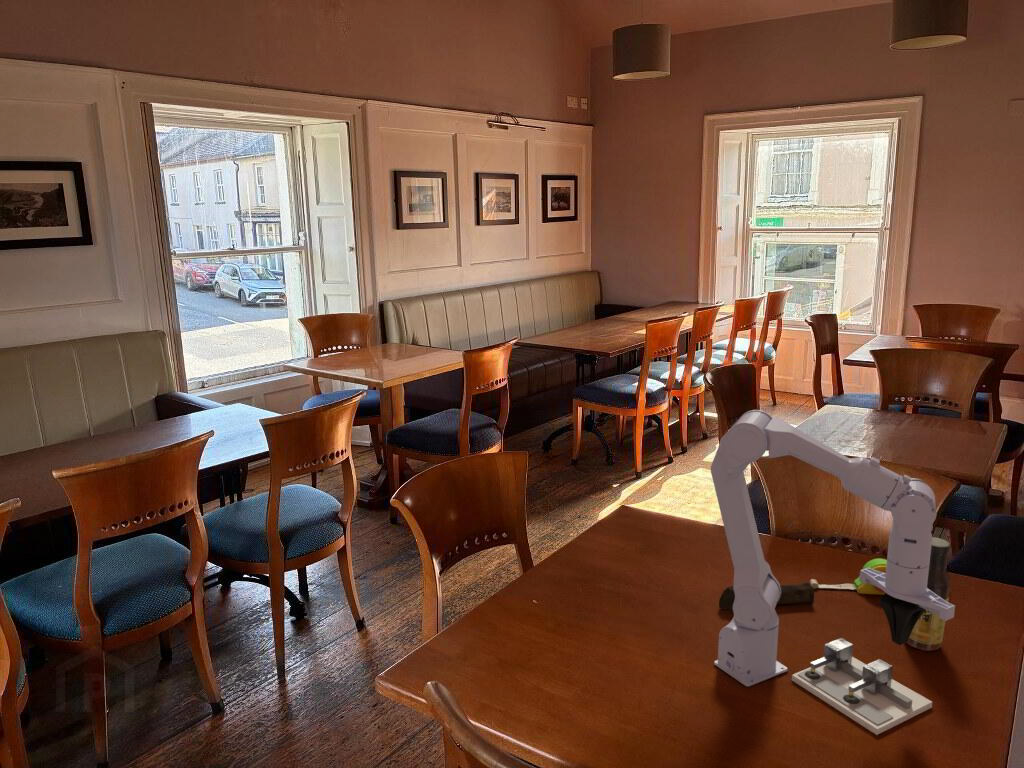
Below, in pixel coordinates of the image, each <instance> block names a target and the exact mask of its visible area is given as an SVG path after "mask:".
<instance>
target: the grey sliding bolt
mask: <svg viewBox="0 0 1024 768" xmlns="http://www.w3.org/2000/svg"><path fill="white" fill-rule="evenodd" d="M892 679H893V665H891V664H890V663H888V662H886V661H885V660H882V659H880V658H878V659H876V660H874V661H872V662H869V663H867V664H866V665H864V666H863V672H862V680H860V681H858V682H856V683H853V684H851V685H849V688H848V690H849V698H853V695H854V692H856V691H858V690H860V689H862V688H864V689H866V690H867V691H869V692H871V693H872V694H874V695H875V694H877V693H879V685H881V684H883V683H884V684H885V685H887V686H889V687H891V680H892Z"/></svg>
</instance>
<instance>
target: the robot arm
mask: <svg viewBox="0 0 1024 768" xmlns="http://www.w3.org/2000/svg"><path fill="white" fill-rule="evenodd" d="M766 452H768V459H774V458H779V457H786V456H792V457H794V458H795V459H799V460H800V461H802V462H805V463H807V464H810V465H811V466H813V467H816V468H817V469H820V470H822V471H824V472H826V473H829V474H830V475H833V476H835V477H837V478H839V480H840V482H841V484H842V486H843V490H845V491H848V492H849V493H851V494H853V495H855V496H857V497H858V498H861V499H863V500H864V501H867V502H868V503H870V504H871V505H874V506H876V507H878V508H880V509H882V510H884V511H887V512H890V513H891V516H892V518H893V519H892V525H891V527H890V529H889V536H888V546H887V547H888V549H887V558H886V560H887V566H886V573H883V572H879V571H876V570H873V569H871V568H866V569H863V568H862V569H863V570H862V569H860V571H859V576H860V580H859V581H860V582H862V583H869V584H872V585H874V586H876V587H878V588H880V589H882V590H883V591H884V592H885V594H884V595H883V596H880V597H879V601H878V602H879V604H880V606H881V608H882V609H883V612H884V613H885V616H886V619H887V622H888V626H889V631H890V636H891V641H892V642H893V643H895V644H897V645H899V646H901V645H904V644H907V643H906V642H908V640H909V637H910V635H911V632H912V630H913V628H914V626H915V624H916V622H917V621H918V619H919V618H920V617H921V615H922V614H923V613H924V612H925V611H926V610H928V611H930V612H932V613H935V614H937V615H939V618H940V619H942V620H945V622H946V621H949V620H951V619H953V618H955V609H956V605H954V604H952V603H951V602H949V601H948V602H947V601H945V600H944V599H942V598H941V597H939V596H938V595H936V594H935V593H934V592H932V591H931V590H929V589H928V588H927V582H928V572H929V563H930V554H931V545H932V537H933V534H932V531H933V528H934V526H933V525H934V522H935V520H936V518H937V515H938V514H937V513H936V511H937V510H936V495H935V493H934V490H933V489H932V487H931V486H929V485H928V484H927V483H926V482H924V481H923V480H922V479H919V478H916V477H915V478H913V477H910V476H909V475H907V474H904V475H900V474H899V473H896V472H895V471H892V470H891V469H888V468H886V467H884V466H882V465H880V462H881V461H880V460H879V459H877V458H876V457H874V456H871V458H870V459H869V458H867V457H865V456H859V457H852V458H849V457H848V456H846V455H844V454H842V453H840V452H839V451H837V450H835V449H833V448H832V447H830V446H828V445H826V444H824V443H823V442H821V441H819V440H818V439H816V438H814V437H812V436H811V435H809V434H807V433H805V432H803V431H802V430H800V429H798V428H796V427H795V426H793V425H792V424H790V423H788V422H787V421H785V420H784V419H782V418H779V417H777V416H773V417H772V415H770V414H769V413H768V412H766V411H764V410H761V409H752V410H748V411H746V412H744V413H743V414H742V415H741V416H740V417H739V418H738V419H737V420H736V421H735V422H734V423H733V424H732V425H731V427H730V428H729V430H727V431H726V433H725V434H724V435H723V436H722V437H721V438H720V442H719V445H718V447H717V450H716V452H715V455H714V457H713V460H712V462H711V464H710V473H711V478H712V482H713V486H714V490H715V494H716V498H717V502H718V507H719V511H720V515H721V519H722V523H723V527H724V531H725V536H726V541H727V545H728V549H729V552H730V556H731V560H732V564H733V565H732V566H733V568H734V569H733V570H734V572H733V573H734V574H733V585H732V586H733V588H734V593H735V600H734V603H733V610H732V613H733V618H732V619H731V621H730V622H729V623H728V624H727V625H725V626H723V627H722V628H721V629H720V631H719V634H718V647H717V648H718V649H717V652H718V653H717V660H714V663H713V664H714V665H715V666H716V667H718V669H720V670H722V671H723V672H725V673H726V674H728V675H729V676H731V677H732V678H734V679H735V681H738V682H739V683H741V684H742V685H744V686H745V687H751V686H754V685H756V684H759V683H761V682H764V681H766V680H768V679H770V678H773V677H776V676H778V675H780V674H783V673H785V672H787V671H788V667H787V666H785V665H784V664H782V662H780V661H778V660H777V655H778V641H779V640H778V639H779V625H780V623H779V622H780V618H779V615H778V614H777V612H776V609H775V608H776V606H777V605H778V604H777V602H778V600H779V598H780V596H781V587H780V585H781V584H780V583H779V581H778V580H777V578H776V577H775V576H774V575H773V573H772V570H771V565H770V564H769V563H768V562H767V561H766V560H765V556H764V552H763V548H762V545H761V544H762V543H761V539H760V535H759V531H758V527H757V523H756V518H755V516H754V515H755V514H754V510H753V505H752V502H751V499H750V494H749V490H748V484H747V482H746V480H747V479H746V476H745V473H744V472H745V470H746V469H747V468H748V466H749V465H750V464H752V463H754V462H755V461H758V460H759V459H760V458H762V457H763V455H765V453H766Z"/></svg>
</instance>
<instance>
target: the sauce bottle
mask: <svg viewBox="0 0 1024 768" xmlns="http://www.w3.org/2000/svg"><path fill="white" fill-rule="evenodd" d="M950 544H951V543H949V541H948V540H945V539H943V538H940V537H935V536H932V545H931V554H930V563H929V572H928V582H927V588H928V589H929V590H931V591H932V592H934V593H935V594H936V595H938V596H939V597H941V598H942V599H944V600H945V601H947V602H948V603H949V599H950V590H951V585H952V584H951V583H952V581H951V580H952V579H951V577H950V575H949V573H948V572H947V568H946V567H947V559H948V558H947V557H948V553H949V552H950V546H951V545H950ZM945 626H946V621H945V620H942V619H940V618H939V615H937V614H935V613H932V612H930V611H928V610H926V611H925V612H924V613H923V614H922V615H921V617H920V618H919V619H918V621H917V622H916V624H915V626H914V628H913V630H912V632H911V635H910V637H909V640H908V642H906V643H905V644H907V645H909V647H912V648H914V649H917V650H920V651H923V652H929V651H931V652H932V651H937V650H939V649H940V647H941V645H942V641H943V638H944V632H945Z"/></svg>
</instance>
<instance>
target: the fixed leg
mask: <svg viewBox="0 0 1024 768" xmlns="http://www.w3.org/2000/svg"><path fill="white" fill-rule="evenodd" d="M853 651H854V644H853V643H851V642H850V641H847V640H846V639H844V638H842V637H840V638H837V639H835V640H832V641H830V642H827V643H825V644H824V650H823V657H821V658H818V659H816V660H814V661H810V664H809V665H810V666H809V668H810V667H811V671H810V673H811V674H815V669H816V668H818V667H821V666H823V665H825V666H827V667H829V668H830V669H832V670H834V671H837V670H839V667H840V662H842V661H845V662H847V663H849V664H852V657H853V653H854V652H853Z"/></svg>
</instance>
